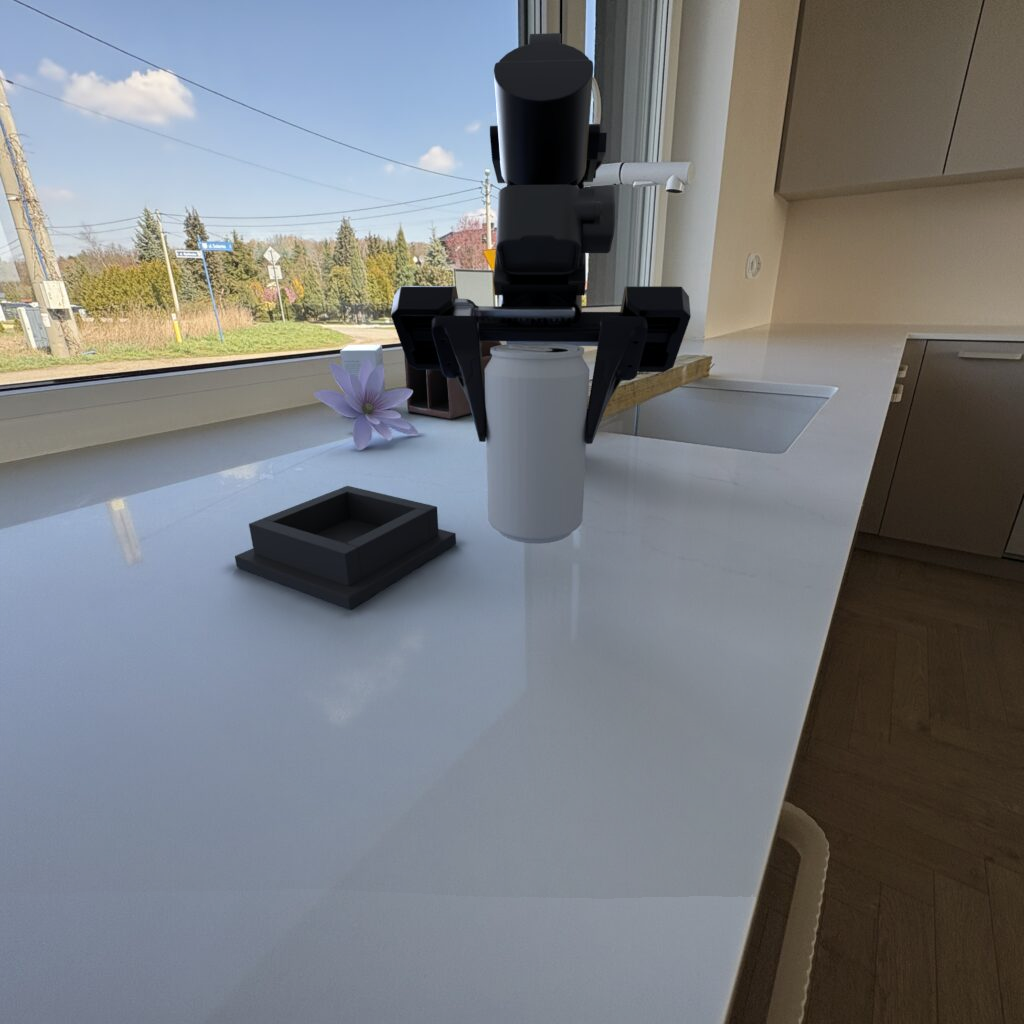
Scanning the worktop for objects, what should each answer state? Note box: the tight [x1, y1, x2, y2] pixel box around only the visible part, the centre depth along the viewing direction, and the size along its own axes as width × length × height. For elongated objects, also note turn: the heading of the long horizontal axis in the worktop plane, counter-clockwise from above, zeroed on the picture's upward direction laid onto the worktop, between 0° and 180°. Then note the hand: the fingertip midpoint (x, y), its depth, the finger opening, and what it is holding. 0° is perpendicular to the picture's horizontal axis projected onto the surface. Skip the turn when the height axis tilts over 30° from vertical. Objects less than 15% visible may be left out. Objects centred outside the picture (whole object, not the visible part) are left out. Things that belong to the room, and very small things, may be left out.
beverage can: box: [485, 343, 591, 544], centre depth 36 cm, size 6×6×12 cm
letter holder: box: [403, 341, 503, 420], centre depth 97 cm, size 10×20×14 cm, turn 144°
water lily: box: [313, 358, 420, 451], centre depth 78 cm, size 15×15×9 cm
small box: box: [339, 344, 387, 411], centre depth 93 cm, size 8×6×10 cm
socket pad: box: [234, 485, 457, 610], centre depth 45 cm, size 12×12×4 cm
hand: (534, 439), depth 35 cm, fingers closed on beverage can, 6 cm apart
